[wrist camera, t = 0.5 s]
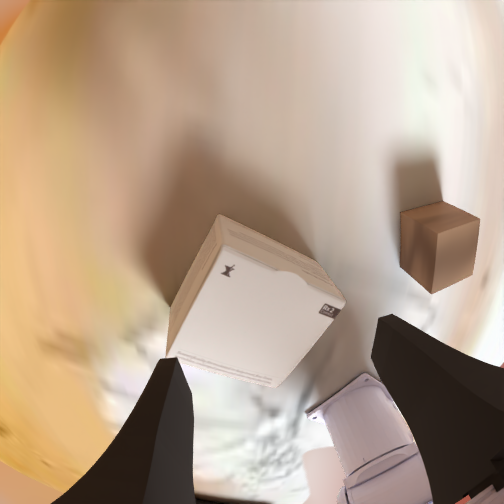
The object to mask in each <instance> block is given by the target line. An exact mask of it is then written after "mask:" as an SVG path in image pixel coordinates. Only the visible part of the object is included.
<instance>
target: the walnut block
mask: <svg viewBox="0 0 504 504" xmlns="http://www.w3.org/2000/svg"><path fill="white" fill-rule="evenodd" d="M400 217H401V248H400V267H401V268H402V269H403V270H404V271H406V272H407V273H408V274H409V275H410V276H411V277H412V278H414V279H415V280H416V281H417V282H418V283H419V284H420V285H422V286H423V287H424V288H425V289H426V290H427V291H428V292H429V293H430V294H433V293H435V292H438V291H440V290H442V289H444V288H446V287H448V286H451V285H453V284H455V283H457V282H459V281H461V280H463V279H465V278H467V277H469V276H471V275H472V274H473V269H474V263H475V257H476V250H477V243H478V235H479V225H480V219H479V218H477V217H475V216H473V215H471V214H469V213H467V212H465V211H463V210H461V209H459V208H457V207H455V206H453V205H450V204H448V203H446V202H444V201H441V202H437V203H433V204H430V205H426V206H422V207H418V208H415V209H411V210H407V211H403V212H400Z"/></svg>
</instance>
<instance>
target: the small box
mask: <svg viewBox="0 0 504 504" xmlns="http://www.w3.org/2000/svg"><path fill="white" fill-rule="evenodd" d="M345 304H346V299H345V298H344V297H343V295H342V294H341V292H340V291H339V290H338V288H337V287H336V286H335V284H334V283H333V282H332V280H331V279H330V278H329V276H328V275H327V274H326V272H325V271H324V270H323V269H322V267H321V266H320V265H319V263H318V262H317V261H315V260H313V259H311V258H309V257H307V256H305V255H303V254H301V253H299V252H297V251H295V250H293V249H291V248H289V247H287V246H285V245H283V244H281V243H279V242H277V241H275V240H273V239H271V238H269V237H267V236H265V235H263V234H261V233H259V232H257V231H255V230H253V229H251V228H249V227H246V226H244V225H242V224H240V223H238V222H236V221H234V220H232V219H229V218H227V217H225V216H223V215H221V214H218V215H217V217H216V219H215V221H214V223H213V225H212V227H211V229H210V231H209V233H208V235H207V237H206V238H205V240H204V242H203V244H202V246H201V248H200V250H199V252H198V254H197V256H196V258H195V259H194V261H193V263H192V265H191V267H190V269H189V271H188V273H187V275H186V277H185V279H184V281H183V283H182V285H181V287H180V289H179V291H178V293H177V295H176V297H175V299H174V301H173V303H172V305H171V308H170V317H169V327H168V337H167V346H166V357H165V358H174V357H177V358H178V360H179V363H181V364H185V365H188V366H191V367H195V368H198V369H201V370H205V371H209V372H212V373H216V374H219V375H223V376H227V377H231V378H235V379H239V380H243V381H247V382H251V383H255V384H259V385H264V386H268V387H273V388H277V387H278V386H279V385H280V384H281V383H282V382H283V381H284V380H285V379H286V377H287V376H288V375H289V374H290V373H291V372H292V371H293V369H294V368H295V367H296V366H297V365H298V363H299V362H300V361H301V360H302V359H303V357H304V356H305V355H306V354H307V353H308V351H309V350H310V349H311V348H312V346H313V345H314V344H315V343H316V341H317V340H318V339H319V338H320V337H321V335H322V334H323V333H324V332H325V330H326V329H327V328H328V327H329V325H330V324H331V323H332V321H333V320H334V319H335V317H336V316H337V315H338V314H339V312H340V311H341V309H342V308H343V307H344V305H345Z"/></svg>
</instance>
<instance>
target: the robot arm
mask: <svg viewBox="0 0 504 504" xmlns="http://www.w3.org/2000/svg"><path fill="white" fill-rule="evenodd" d="M371 359H372V361H373V363H374V366H375V368H376V370H377V373H378V375H379V377H380V379H381V381H382V382H383V384H382V383H381V382H379V381H378V380H376V379H375V378H373V377H372V376H370V375H369V374H367V373H363V374H361V375H360V376H359V377H358V378H356V379H355V380H354V381H352V382H351V383H350V384H349V385H347V386H346V387H345V388H343V389H342V390H341V391H339V392H338V393H337V394H335V395H334V396H333V397H331V398H330V399H329V400H327V401H326V402H324V403H323V404H321V405H320V406H319V407H317V408H316V409H314V410H313V411H311V412H310V413H308V414H307V418H308V419H310V420H313V421H316V422H319V423H322V424H325V425H326V426H327V428H328V431H329V433H330V436H331V438H332V441H333V444H334V446H335V449H336V451H337V454H338V456H339V459H340V462H341V464H342V467H343V469H344V472H345V474H346V477H347V478H345V479H343V481H344V484H345V486H344V487H342V488H340V490H339V493H338V496H337V503H338V504H426V503H427V504H455V503H456V502H458V501H460V500H461V499H462V498H464V497H466V496H467V495H468V494H469V496H470V498H471V500H470V501H468V502H467V503H466V504H504V368H501V367H497V366H494V365H491V364H488V363H485V362H483V361H480V360H478V359H475V358H473V357H470V356H468V355H466V354H464V353H462V352H460V351H458V350H456V349H454V348H452V347H450V346H448V345H446V344H444V343H442V342H440V341H439V340H437V339H435V338H433V337H432V336H430V335H428V334H426V333H425V332H423V331H421V330H420V329H418V328H416V327H414V326H413V325H411V324H409V323H408V322H406V321H404V320H402V319H401V318H399V317H397V316H395V315H393V314H390V315H387V316H383V317H380V318H378V324H377V329H376V334H375V339H374V344H373V349H372V353H371ZM393 401H394V402H395V404H396V405H397V407H398V408H399V410H400V412H401V413H402V415H403V417H404V418H405V420H406V422H407V424H408V426H409V428H410V430H411V431H410V430H409V428H408V426H407V424H406V423H405V421H404V419H403V418H402V416H401V414H400V412H399V411H398V409H397V407H396V406H395V404H394V402H393ZM411 432H412V433H411ZM193 434H194V413H193V401H192V393H191V390H190V388H189V386H188V383H187V381H186V378H185V376H184V373H183V371H182V368H181V366H180V363H179V360H178V358H177V357H174V358H164V359H160V360H159V361H158V363H157V365H156V367H155V369H154V371H153V373H152V375H151V377H150V379H149V381H148V383H147V385H146V387H145V389H144V391H143V393H142V394H141V396H140V398H139V400H138V402H137V403H136V405H135V407H134V409H133V410H132V412H131V414H130V415H129V417H128V419H127V420H126V422H125V423H124V425H123V427H122V428H121V430H120V431H119V433H118V434H117V436H116V437H115V439H114V440H113V441H112V443H111V444H110V445H109V447H108V448H107V449H106V451H105V452H104V453H103V454H102V456H101V457H100V458H99V459H98V460H97V461H96V463H95V464H94V465H93V466H92V467H91V468H90V469H89V471H88V472H87V473H86V474H85V475H84V476H83V477H82V478H81V479H79V480H78V481H77V482H76V483H75V484H74V485H73V486H72V487H71V488H70V489H69V490H68V491H67V492H65V493H64V494H63V495H62V496H60V497H59V498H58V499H56V500H55V501H54V502H52V503H51V504H196V501H195V494H194V485H193ZM412 434H413V436H412ZM413 437H414V439H415V442H416V444H417V446H418V447H417V446H416V444H415V442H413ZM428 502H429V503H428Z"/></svg>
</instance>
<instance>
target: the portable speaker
mask: <svg viewBox="0 0 504 504" xmlns="http://www.w3.org/2000/svg"><path fill="white" fill-rule="evenodd" d="M195 501H196V504H222V503H215V502H208V501H202V500H196V499H195Z"/></svg>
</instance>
